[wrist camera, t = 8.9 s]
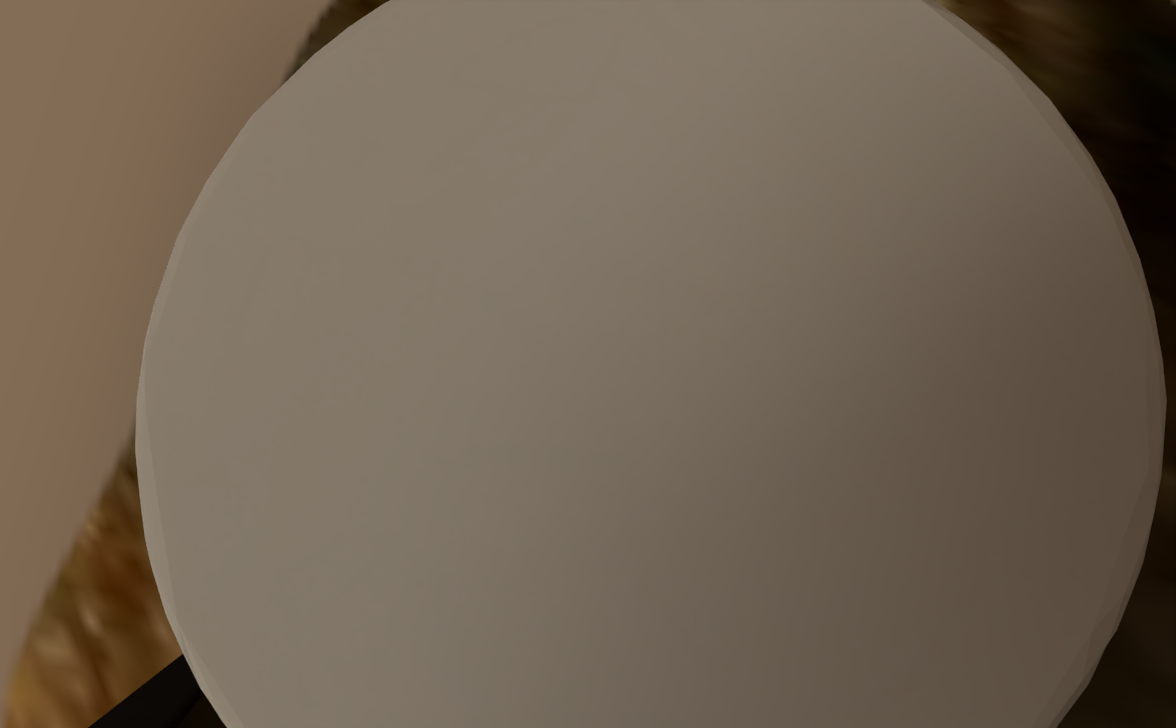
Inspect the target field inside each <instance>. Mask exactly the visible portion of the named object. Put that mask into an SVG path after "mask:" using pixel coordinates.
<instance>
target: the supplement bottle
mask: <svg viewBox="0 0 1176 728" xmlns="http://www.w3.org/2000/svg"><path fill="white" fill-rule="evenodd" d="M1166 405H1167V399H1166V389H1165V379H1164V369H1163V360H1162V354H1161V348H1160V343H1159V337H1158V331H1157V325H1156V320H1155V314H1154V309H1153V305H1152V302H1151V298H1150V294H1149V291H1148V287H1147V283H1146V280H1145V276H1144V272H1143V269H1142V265H1141V261H1140V258H1139V256H1138V253H1137V251H1136V248H1135V246H1134V243H1133V241H1132V238H1131V236H1130V233H1129V231H1128V229H1127V226H1126V224H1125V221H1124V219H1123V216H1122V214H1121V211H1120V209H1119V206H1118V204H1117V201H1116V199H1115V197H1114V195H1113V193H1112V191H1111V190H1110V188H1109V186H1108V185H1107V183H1106V181H1105V179H1104V178H1103V176H1102V174H1101V172H1100V171H1099V169H1098V167H1097V165H1096V164H1095V162H1094V160H1093V158H1092V157H1091V155H1090V154H1089V152H1088V151H1087V149H1086V148H1085V147H1084V145H1083V144H1082V143H1081V141H1080V140H1079V139H1078V137H1077V136H1076V134H1075V133H1074V132H1073V130H1072V129H1071V128H1070V126H1069V125H1068V124H1067V122H1066V121H1065V119H1064V118H1063V117H1062V115H1061V114H1060V113H1059V111H1058V110H1057V109H1056V107H1055V106H1054V104H1053V103H1052V102H1051V100H1050V99H1049V98H1048V97H1047V96H1046V95H1045V94H1044V93H1043V92H1042V91H1041V90H1040V89H1039V88H1038V87H1037V86H1036V85H1035V84H1034V83H1033V82H1032V81H1031V80H1030V79H1029V78H1028V77H1027V76H1026V75H1025V74H1024V73H1023V72H1022V71H1021V70H1020V69H1019V68H1018V67H1017V66H1016V65H1015V64H1014V63H1013V62H1012V61H1011V60H1010V59H1009V58H1008V57H1007V56H1006V55H1005V54H1004V53H1003V52H1002V51H1001V50H1000V49H999V48H998V47H996V46H995V45H994V44H993V43H991V42H990V41H989V40H988V39H986V38H985V37H984V36H982V35H981V34H980V33H979V32H977V31H976V30H975V29H973V28H972V27H971V26H970V25H968V24H967V23H966V22H964V21H963V20H962V19H960V18H959V17H958V16H956V15H955V14H953V13H952V12H950V11H949V10H947V9H946V8H945V7H943V6H942V5H940V4H939V3H937V2H936V1H934V0H390V1H388V2H386V3H385V4H383V5H381V6H380V7H378V8H377V9H375V10H374V11H372V12H371V13H369V14H368V15H366V16H365V17H363V18H362V19H360V20H359V21H357V22H356V23H354V24H353V25H351V26H350V27H348V28H347V29H346V30H345V31H343V32H342V33H341V34H340V35H338V36H337V37H336V38H334V39H333V40H332V41H331V42H329V43H328V44H327V45H326V46H324V47H323V48H322V49H321V50H319V51H318V52H317V53H315V54H314V55H313V56H312V57H311V58H310V59H309V60H308V61H307V62H306V63H305V64H304V65H303V66H302V67H301V68H300V69H299V70H298V71H297V72H296V73H295V74H294V75H293V76H292V77H291V78H290V79H289V80H288V81H287V82H286V83H285V84H284V85H283V86H282V87H281V88H280V89H278V90H277V91H276V92H275V93H274V94H273V95H272V96H271V97H270V98H269V99H268V100H267V101H266V102H265V103H264V104H263V105H262V106H261V107H260V108H259V109H258V110H257V111H256V112H255V113H254V114H253V115H252V116H251V118H250V119H249V120H248V122H247V123H246V124H245V126H244V127H243V129H242V130H241V131H240V133H239V134H238V135H237V137H236V138H235V140H234V142H233V143H232V144H231V146H230V147H229V149H228V150H227V152H226V153H225V155H224V156H223V158H222V159H221V161H220V162H219V164H218V165H217V167H216V168H215V170H214V171H213V173H212V174H211V176H210V177H209V178H208V180H207V182H206V183H205V185H204V187H203V190H202V191H201V193H200V195H199V197H198V199H197V201H196V202H195V204H194V206H193V208H192V210H191V212H190V214H189V216H188V218H187V220H186V221H185V223H184V225H183V227H182V229H181V231H180V233H179V235H178V237H177V240H176V242H175V246H174V248H173V251H172V254H171V257H170V260H169V263H168V265H167V268H166V271H165V275H164V277H163V280H162V283H161V286H160V289H159V292H158V295H157V297H156V300H155V303H154V307H153V311H152V315H151V319H150V323H149V327H148V330H147V334H146V339H145V344H144V351H143V359H142V366H141V373H140V379H139V387H138V393H137V402H136V446H135V452H136V462H137V472H138V483H139V493H140V502H141V510H142V518H143V526H144V534H145V540H146V545H147V549H148V554H149V558H150V563H151V567H152V570H153V573H154V577H155V580H156V583H157V587H158V590H159V593H160V597H161V600H162V603H163V607H164V610H165V613H166V616H167V618H168V621H169V623H170V625H171V627H172V630H173V632H174V634H175V636H176V638H177V641H178V643H179V645H180V647H181V650H182V652H183V654H184V656H185V658H186V660H187V662H188V664H189V666H190V668H191V670H192V672H193V674H194V676H195V678H196V680H197V682H198V684H199V686H200V688H201V690H202V691H203V693H204V694H205V696H206V697H207V699H208V700H209V702H210V703H211V705H212V706H213V708H214V709H215V711H216V712H217V714H218V715H219V717H220V719H221V720H222V722H223V723H224V724H225V726H226V727H227V728H1056V727H1057V726H1058V725H1059V723H1060V722H1061V720H1062V719H1063V718H1064V716H1065V715H1066V714H1067V712H1068V711H1069V710H1070V708H1071V707H1072V706H1073V704H1074V703H1075V702H1076V700H1077V699H1078V698H1079V696H1080V695H1081V694H1082V692H1083V691H1084V690H1085V688H1086V687H1087V686H1088V684H1089V682H1090V680H1091V678H1092V676H1093V674H1094V671H1095V669H1096V667H1097V665H1098V663H1099V661H1100V659H1101V656H1102V654H1103V652H1104V650H1105V648H1106V646H1107V644H1108V643H1109V641H1110V640H1111V638H1112V637H1113V635H1114V634H1115V632H1116V631H1117V629H1118V626H1119V623H1120V621H1121V618H1122V616H1123V613H1124V611H1125V608H1126V606H1127V603H1128V601H1129V598H1130V596H1131V593H1132V590H1133V588H1134V585H1135V583H1136V580H1137V578H1138V575H1139V573H1140V570H1141V567H1142V565H1143V561H1144V557H1145V552H1146V548H1147V543H1148V539H1149V534H1150V530H1151V525H1152V521H1153V516H1154V511H1155V506H1156V501H1157V496H1158V491H1159V486H1160V480H1161V475H1162V461H1163V447H1164V433H1165V419H1166Z"/></svg>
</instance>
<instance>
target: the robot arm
mask: <svg viewBox="0 0 1176 728" xmlns="http://www.w3.org/2000/svg"><path fill="white" fill-rule="evenodd" d="M88 728H227V727H226V726H225V724H224V723H223V722H222V720H221V719H220V717H219V715H218V714H217V712H216V711H215V709H214V708H213V706H212V705H211V703H210V702H209V700H208V699H207V697H206V696H205V694H204V693H203V691H202V690H201V688H200V686H199V684H198V682H197V680H196V678H195V676H194V674H193V672H192V670H191V668H190V666H189V664H188V662H187V660H186V658H185V656H184V654H182V655H181V656H179V657H178V658H177V659H176V660H174V661H173V662H172V663H170V664H169V665H168V666H167V667H165V668H164V669H163V670H161V671H160V672H159V673H158V674H156V675H155V676H154V677H152V678H151V679H150V680H149V681H147V682H146V683H145V684H144V685H142V686H141V687H140V688H138V689H137V690H136V691H135V692H133V693H132V694H131V695H129V696H128V697H127V698H126V699H124V700H123V701H122V702H120V703H119V704H118V705H117V706H115V707H114V708H113V709H111V710H110V711H109V712H108V713H106V714H105V715H104V716H102V717H101V718H100V719H99V720H97V721H96V722H95V723H93V724H92V725H91V726H90V727H88Z"/></svg>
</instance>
